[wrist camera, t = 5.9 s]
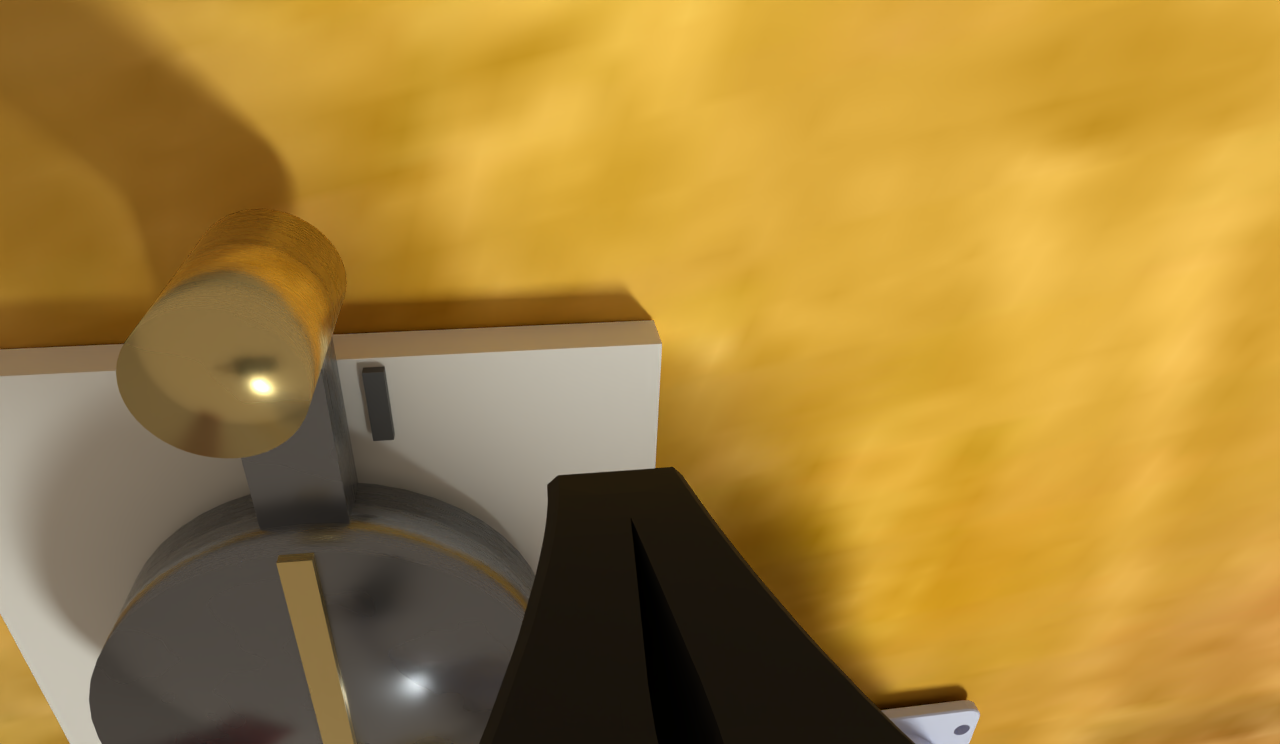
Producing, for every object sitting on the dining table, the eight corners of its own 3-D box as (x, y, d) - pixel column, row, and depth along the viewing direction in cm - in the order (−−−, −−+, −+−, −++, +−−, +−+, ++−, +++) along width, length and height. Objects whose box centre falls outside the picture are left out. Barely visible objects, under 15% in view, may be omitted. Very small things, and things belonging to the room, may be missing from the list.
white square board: (634, 732, 25) (640, 769, 24) (129, 793, 23) (113, 836, 22) (653, 320, 17) (663, 348, 16) (-91, 353, 15) (-132, 388, 14)
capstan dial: (550, 736, 22) (559, 873, 19) (184, 778, 21) (134, 932, 18) (536, 204, 14) (549, 296, 11) (-51, 214, 13) (-210, 321, 10)
